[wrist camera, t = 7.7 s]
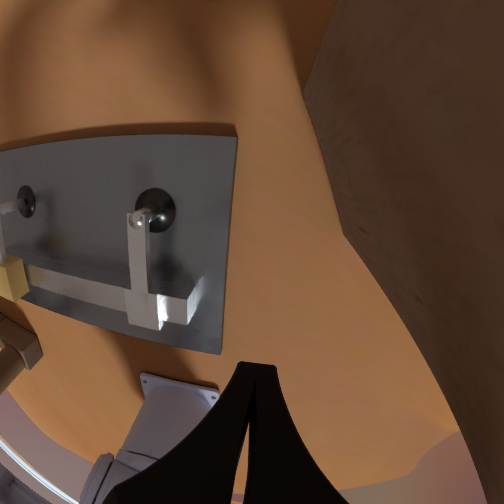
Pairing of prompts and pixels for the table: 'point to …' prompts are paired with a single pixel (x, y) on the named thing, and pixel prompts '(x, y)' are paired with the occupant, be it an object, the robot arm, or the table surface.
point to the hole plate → (126, 232)
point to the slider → (11, 263)
